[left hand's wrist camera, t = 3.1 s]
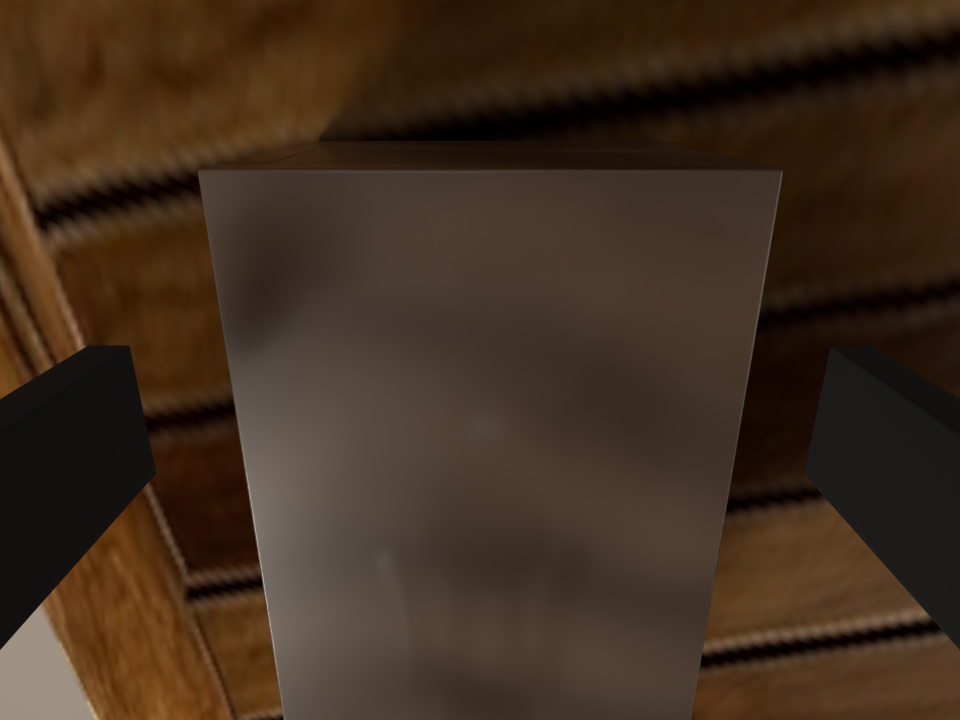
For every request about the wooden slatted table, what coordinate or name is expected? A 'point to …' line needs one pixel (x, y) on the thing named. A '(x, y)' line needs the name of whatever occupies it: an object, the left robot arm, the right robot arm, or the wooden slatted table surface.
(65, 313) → the wooden slatted table surface
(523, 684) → the cabinet
